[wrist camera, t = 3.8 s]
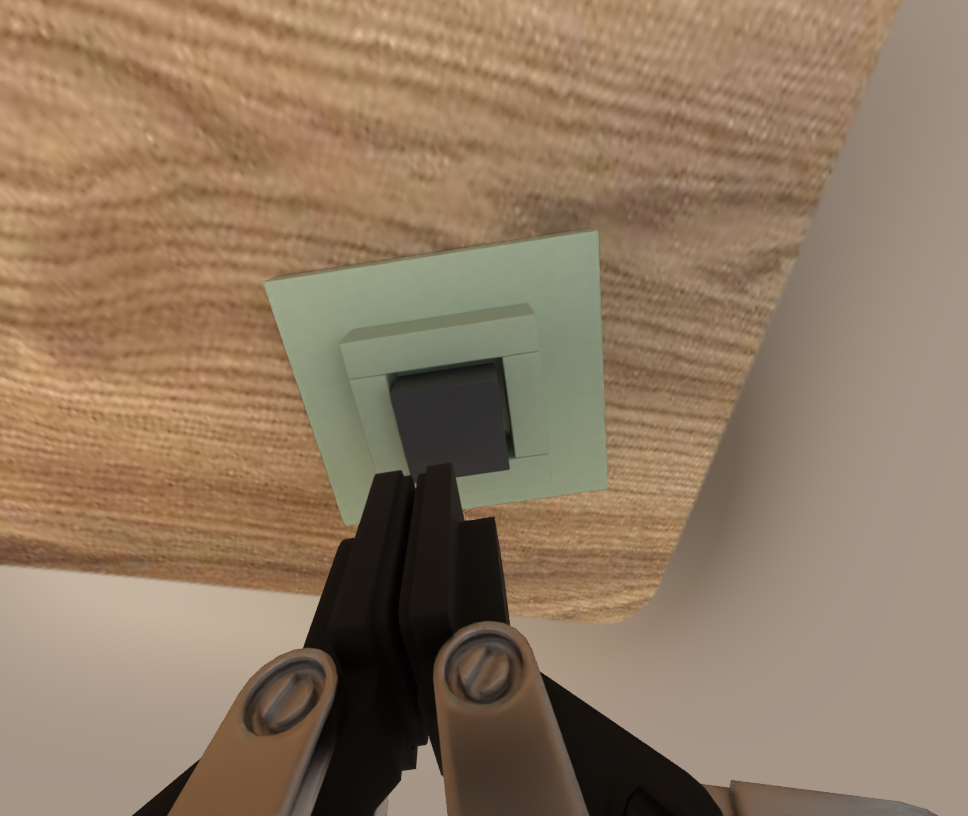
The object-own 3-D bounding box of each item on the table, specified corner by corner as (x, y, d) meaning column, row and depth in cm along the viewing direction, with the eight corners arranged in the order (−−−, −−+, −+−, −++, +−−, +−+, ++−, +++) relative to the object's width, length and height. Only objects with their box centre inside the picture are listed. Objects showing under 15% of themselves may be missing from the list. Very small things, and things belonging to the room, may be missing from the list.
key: (494, 361, 15) (497, 378, 13) (506, 447, 16) (510, 470, 15) (397, 376, 15) (390, 394, 13) (417, 460, 16) (412, 484, 15)
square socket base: (589, 228, 16) (615, 232, 13) (600, 473, 20) (622, 517, 17) (275, 276, 16) (236, 291, 13) (351, 509, 20) (332, 557, 17)
